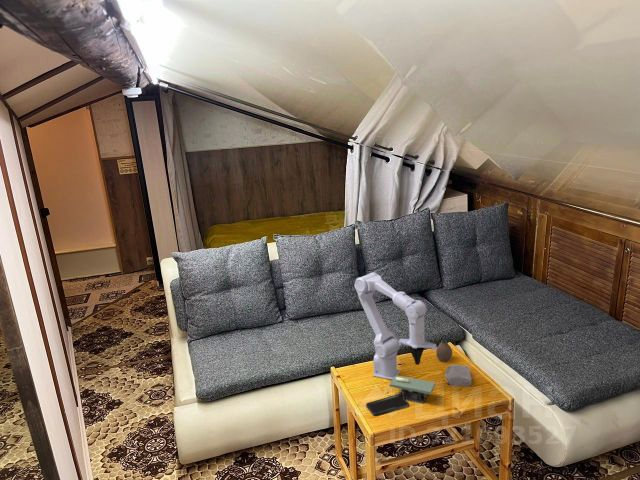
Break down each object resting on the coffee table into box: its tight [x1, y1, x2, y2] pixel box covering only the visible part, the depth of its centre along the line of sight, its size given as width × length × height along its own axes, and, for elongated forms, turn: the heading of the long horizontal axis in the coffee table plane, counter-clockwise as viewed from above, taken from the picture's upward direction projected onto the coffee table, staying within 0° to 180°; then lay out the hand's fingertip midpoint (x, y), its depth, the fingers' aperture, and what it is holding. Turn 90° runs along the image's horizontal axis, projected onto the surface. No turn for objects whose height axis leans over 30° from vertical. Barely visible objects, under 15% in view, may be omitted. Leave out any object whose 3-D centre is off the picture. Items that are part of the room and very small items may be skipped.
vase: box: [435, 340, 453, 363], centre depth 203 cm, size 7×7×9 cm
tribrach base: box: [397, 389, 428, 404], centre depth 178 cm, size 10×7×3 cm
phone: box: [365, 393, 410, 417], centre depth 174 cm, size 8×1×15 cm
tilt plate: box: [389, 375, 436, 395], centre depth 178 cm, size 16×7×3 cm, turn 62°
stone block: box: [445, 364, 472, 387], centre depth 189 cm, size 12×5×10 cm
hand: (417, 363), depth 182 cm, fingers closed
